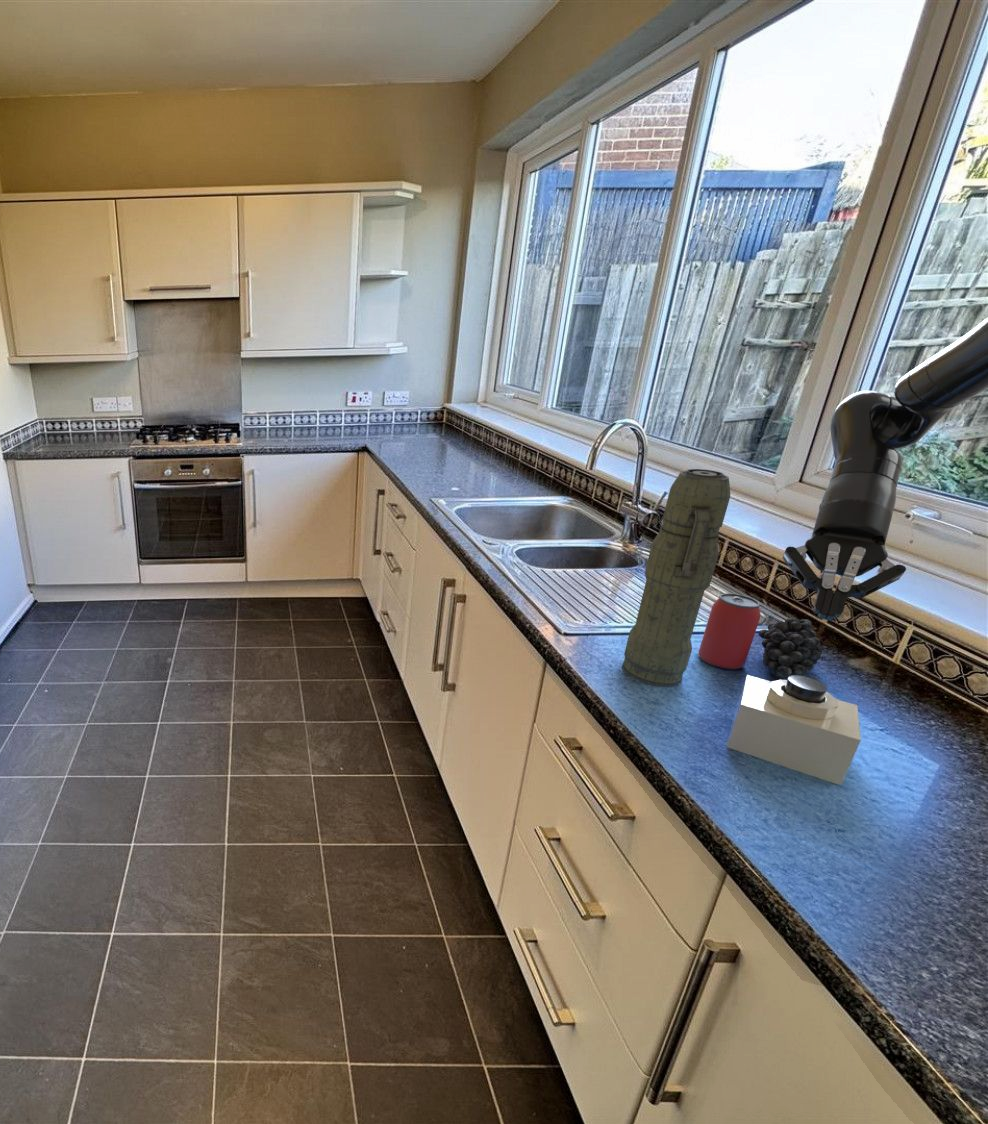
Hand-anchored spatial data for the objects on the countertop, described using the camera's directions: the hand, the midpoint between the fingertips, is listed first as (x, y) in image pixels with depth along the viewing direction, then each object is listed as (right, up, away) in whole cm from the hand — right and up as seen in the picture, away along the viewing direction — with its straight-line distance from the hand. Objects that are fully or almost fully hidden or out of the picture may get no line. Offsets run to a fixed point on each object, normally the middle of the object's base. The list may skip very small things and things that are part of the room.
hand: (826, 617), depth 84 cm
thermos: (-10, -12, +21) cm, 26 cm away
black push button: (-4, -11, -1) cm, 11 cm away
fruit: (+12, -11, +22) cm, 27 cm away
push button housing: (-4, -19, +2) cm, 19 cm away
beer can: (+4, -10, +24) cm, 27 cm away
